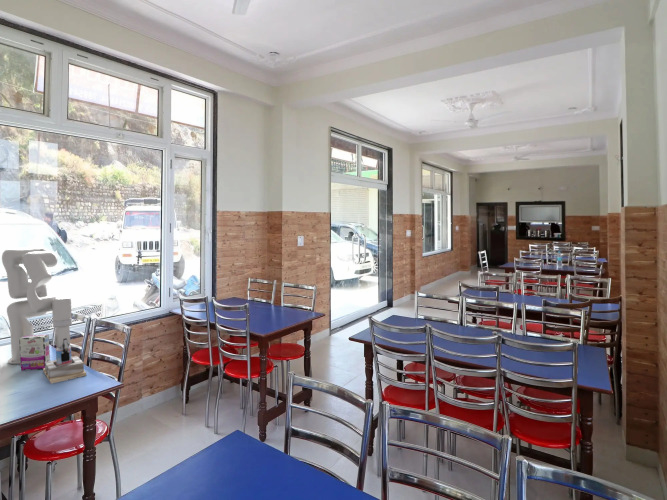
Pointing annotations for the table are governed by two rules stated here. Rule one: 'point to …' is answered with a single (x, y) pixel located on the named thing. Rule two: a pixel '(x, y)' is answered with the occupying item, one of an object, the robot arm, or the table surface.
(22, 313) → the robot arm
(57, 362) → the pill bottle
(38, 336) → the candy bar box
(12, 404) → the table surface
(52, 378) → the collar block
